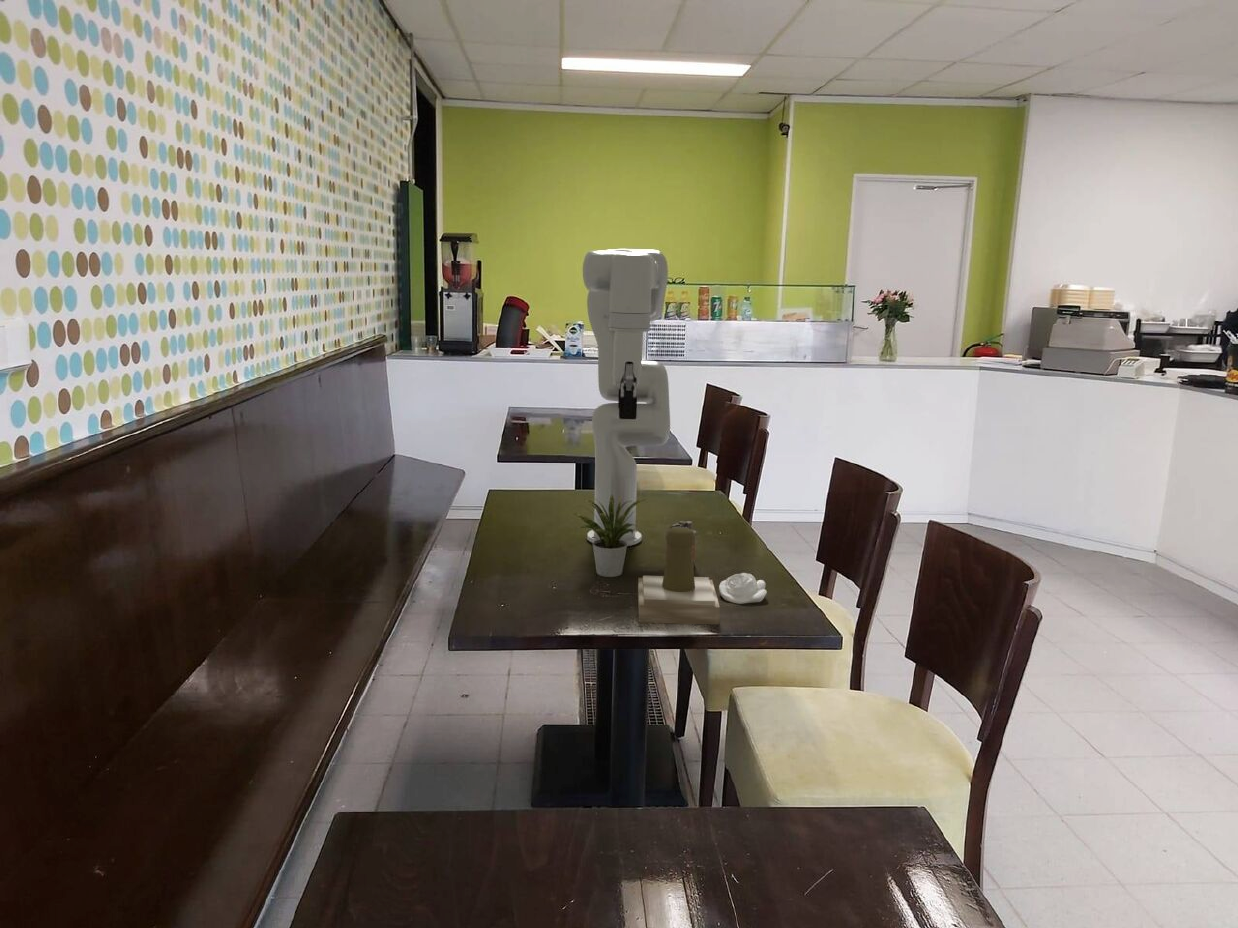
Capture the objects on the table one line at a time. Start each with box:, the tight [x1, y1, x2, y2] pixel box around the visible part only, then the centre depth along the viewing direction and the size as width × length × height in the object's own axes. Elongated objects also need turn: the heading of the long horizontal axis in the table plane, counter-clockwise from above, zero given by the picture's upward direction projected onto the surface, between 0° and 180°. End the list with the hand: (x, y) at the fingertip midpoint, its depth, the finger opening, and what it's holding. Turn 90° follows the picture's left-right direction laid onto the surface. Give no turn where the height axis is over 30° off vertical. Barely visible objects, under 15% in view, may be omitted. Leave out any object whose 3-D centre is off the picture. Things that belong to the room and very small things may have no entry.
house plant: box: [573, 495, 648, 578], centre depth 175 cm, size 14×14×16 cm
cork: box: [662, 527, 696, 592], centre depth 156 cm, size 6×6×11 cm
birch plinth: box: [637, 575, 721, 625], centre depth 157 cm, size 14×14×4 cm
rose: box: [718, 572, 768, 605], centre depth 165 cm, size 10×4×10 cm
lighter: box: [665, 520, 697, 568], centre depth 179 cm, size 8×3×10 cm, turn 135°
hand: (627, 414), depth 162 cm, fingers open, 9 cm apart
